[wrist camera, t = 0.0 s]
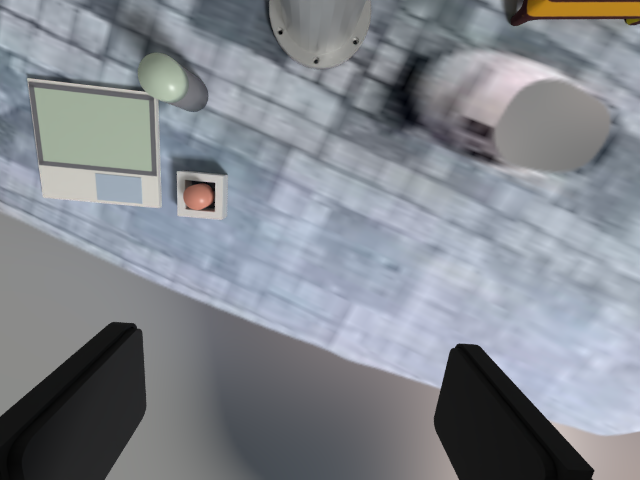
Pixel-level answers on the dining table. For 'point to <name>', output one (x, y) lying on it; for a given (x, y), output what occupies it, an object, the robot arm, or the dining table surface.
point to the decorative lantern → (578, 10)
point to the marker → (171, 82)
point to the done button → (198, 196)
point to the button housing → (220, 194)
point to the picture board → (97, 143)
